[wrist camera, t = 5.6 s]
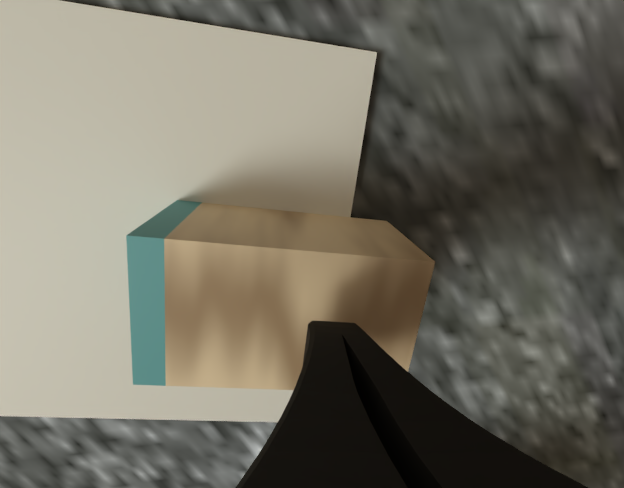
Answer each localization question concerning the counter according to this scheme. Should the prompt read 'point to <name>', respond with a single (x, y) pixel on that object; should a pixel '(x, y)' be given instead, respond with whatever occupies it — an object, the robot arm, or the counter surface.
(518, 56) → the counter surface
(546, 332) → the counter surface
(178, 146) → the board
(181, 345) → the wooden block
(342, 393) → the robot arm
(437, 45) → the counter surface
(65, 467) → the counter surface
